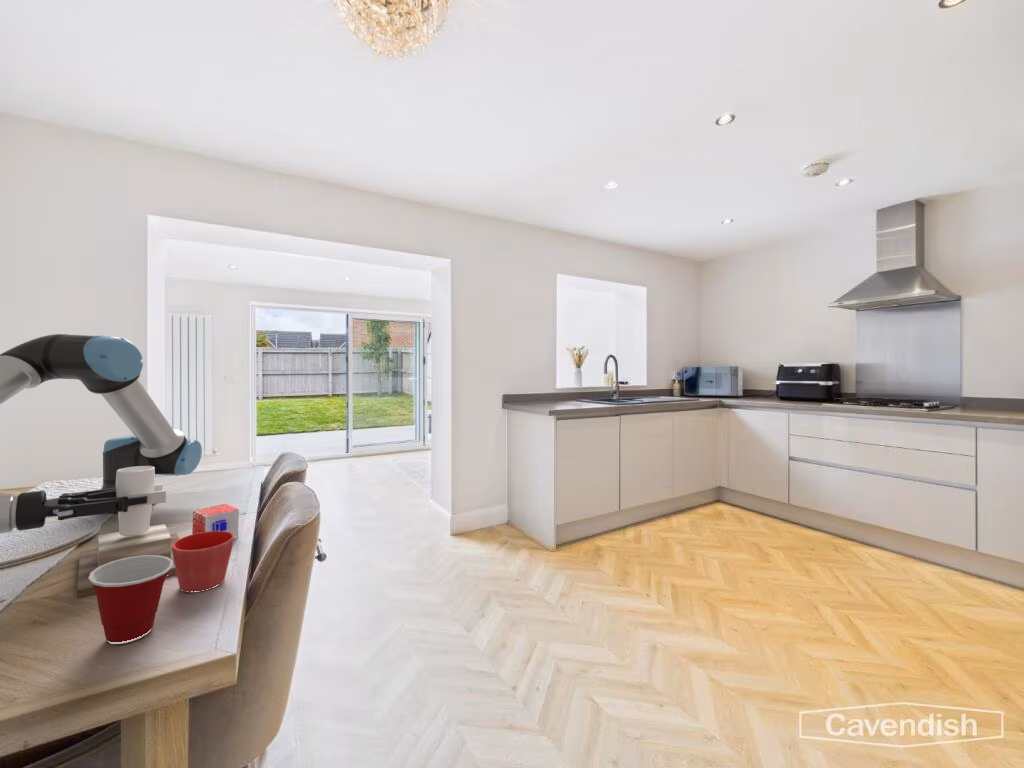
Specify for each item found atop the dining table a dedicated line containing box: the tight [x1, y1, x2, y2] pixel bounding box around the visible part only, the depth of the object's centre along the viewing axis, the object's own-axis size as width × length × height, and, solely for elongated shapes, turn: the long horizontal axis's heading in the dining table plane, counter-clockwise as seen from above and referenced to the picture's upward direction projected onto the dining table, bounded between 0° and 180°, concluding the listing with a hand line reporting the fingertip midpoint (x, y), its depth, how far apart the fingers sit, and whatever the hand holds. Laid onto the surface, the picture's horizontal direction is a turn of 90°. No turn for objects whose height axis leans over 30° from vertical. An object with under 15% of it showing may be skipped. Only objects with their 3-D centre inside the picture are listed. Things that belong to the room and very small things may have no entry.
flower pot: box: [172, 531, 235, 592], centre depth 89 cm, size 11×11×10 cm
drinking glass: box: [116, 466, 156, 536], centre depth 97 cm, size 7×7×15 cm
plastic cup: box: [89, 555, 173, 642], centre depth 72 cm, size 11×11×12 cm
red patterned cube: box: [191, 503, 240, 539], centre depth 113 cm, size 8×8×8 cm
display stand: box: [76, 523, 180, 599], centre depth 97 cm, size 24×18×6 cm
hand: (163, 492), depth 100 cm, fingers closed on drinking glass, 6 cm apart
